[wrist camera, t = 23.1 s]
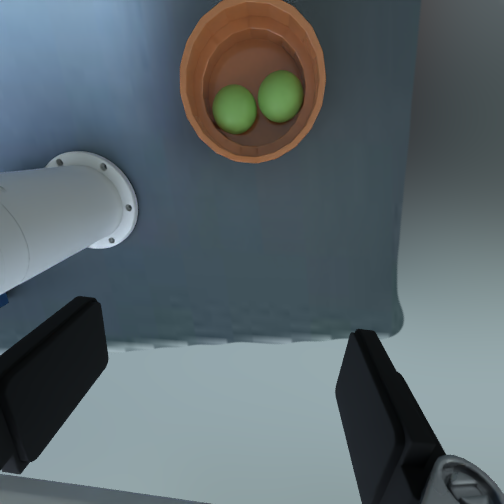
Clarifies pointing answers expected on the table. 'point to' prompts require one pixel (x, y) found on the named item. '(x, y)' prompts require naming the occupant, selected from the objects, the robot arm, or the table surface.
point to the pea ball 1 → (234, 109)
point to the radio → (3, 299)
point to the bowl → (251, 73)
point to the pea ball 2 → (280, 96)
